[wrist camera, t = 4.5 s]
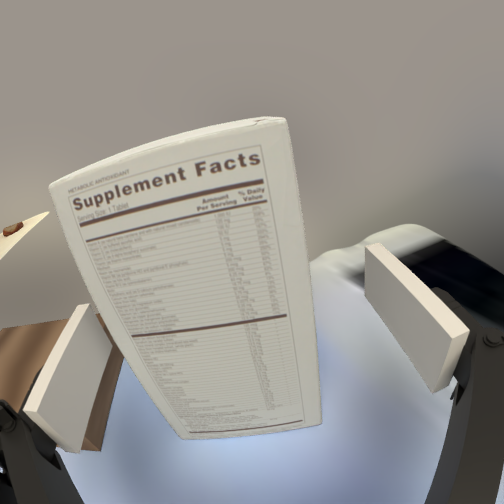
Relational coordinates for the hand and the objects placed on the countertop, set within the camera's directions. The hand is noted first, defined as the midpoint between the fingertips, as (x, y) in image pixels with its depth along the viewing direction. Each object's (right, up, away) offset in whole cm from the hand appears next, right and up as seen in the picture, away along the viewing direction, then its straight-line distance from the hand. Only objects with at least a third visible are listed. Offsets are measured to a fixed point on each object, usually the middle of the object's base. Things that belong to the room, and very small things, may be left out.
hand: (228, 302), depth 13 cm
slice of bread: (-112, +11, +93) cm, 146 cm away
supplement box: (+1, -7, +7) cm, 10 cm away
